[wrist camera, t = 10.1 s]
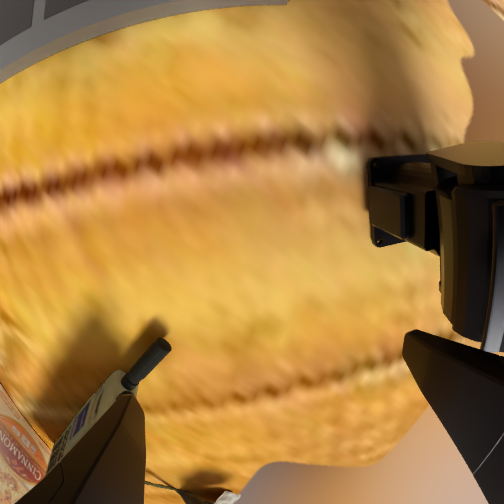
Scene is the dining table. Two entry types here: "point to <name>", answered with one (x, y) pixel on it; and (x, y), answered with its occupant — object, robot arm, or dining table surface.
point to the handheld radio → (107, 399)
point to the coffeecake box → (19, 453)
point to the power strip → (81, 23)
